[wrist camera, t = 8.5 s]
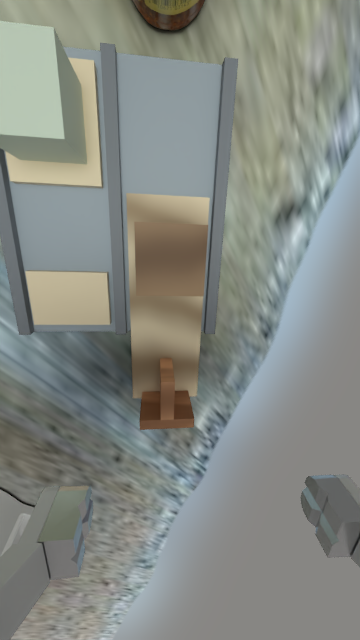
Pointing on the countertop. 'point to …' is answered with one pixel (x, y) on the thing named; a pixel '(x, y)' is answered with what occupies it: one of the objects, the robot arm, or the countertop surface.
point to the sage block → (39, 97)
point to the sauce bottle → (169, 12)
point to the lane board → (115, 187)
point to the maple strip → (164, 323)
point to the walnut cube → (170, 259)
